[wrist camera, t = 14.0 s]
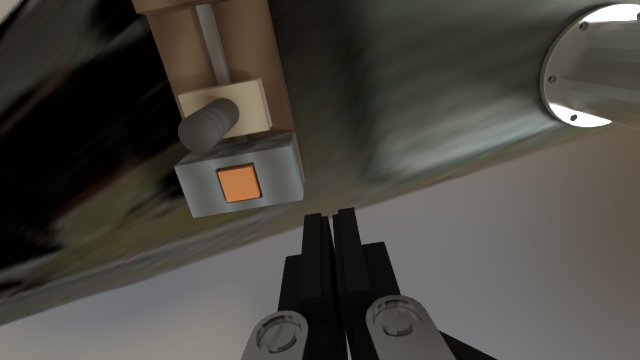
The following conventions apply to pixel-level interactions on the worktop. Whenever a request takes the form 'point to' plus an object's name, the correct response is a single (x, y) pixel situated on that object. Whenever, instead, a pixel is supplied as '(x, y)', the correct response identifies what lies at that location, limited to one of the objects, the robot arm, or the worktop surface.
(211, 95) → the cream plate with knob
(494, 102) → the worktop surface
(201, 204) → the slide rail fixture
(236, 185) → the button
